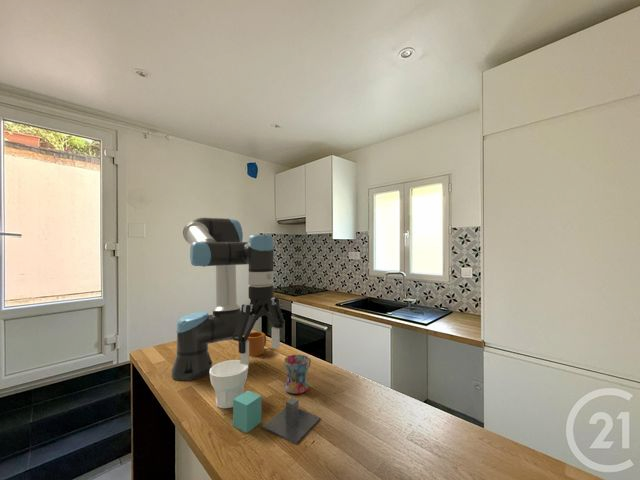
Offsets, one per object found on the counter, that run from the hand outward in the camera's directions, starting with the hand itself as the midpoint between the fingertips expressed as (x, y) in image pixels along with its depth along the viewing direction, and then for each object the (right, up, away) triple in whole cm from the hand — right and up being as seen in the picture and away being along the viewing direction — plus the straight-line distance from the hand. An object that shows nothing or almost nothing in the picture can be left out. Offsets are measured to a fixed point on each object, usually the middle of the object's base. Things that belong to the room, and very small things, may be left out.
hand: (261, 355), depth 81 cm
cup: (-12, -19, +8) cm, 24 cm away
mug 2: (+10, -19, +16) cm, 27 cm away
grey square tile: (+10, -18, -3) cm, 21 cm away
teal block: (-3, -18, -4) cm, 19 cm away
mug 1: (-13, -20, +49) cm, 55 cm away
